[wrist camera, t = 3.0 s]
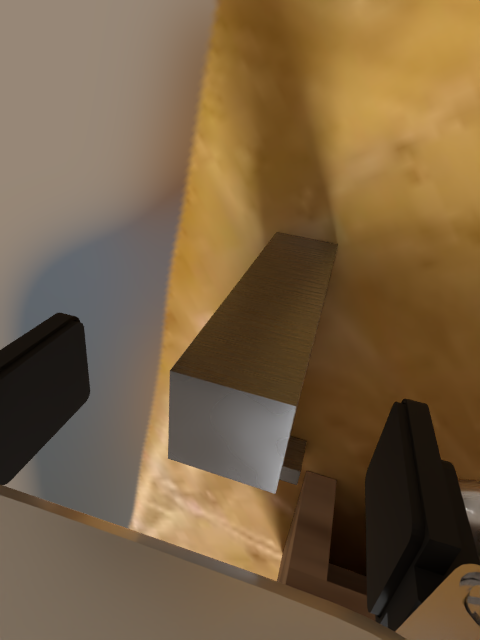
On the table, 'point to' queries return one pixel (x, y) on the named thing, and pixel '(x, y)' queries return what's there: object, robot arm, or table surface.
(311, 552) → the wooden bridge block
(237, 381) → the hoe
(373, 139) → the table surface
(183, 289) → the table surface
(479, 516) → the steel token
